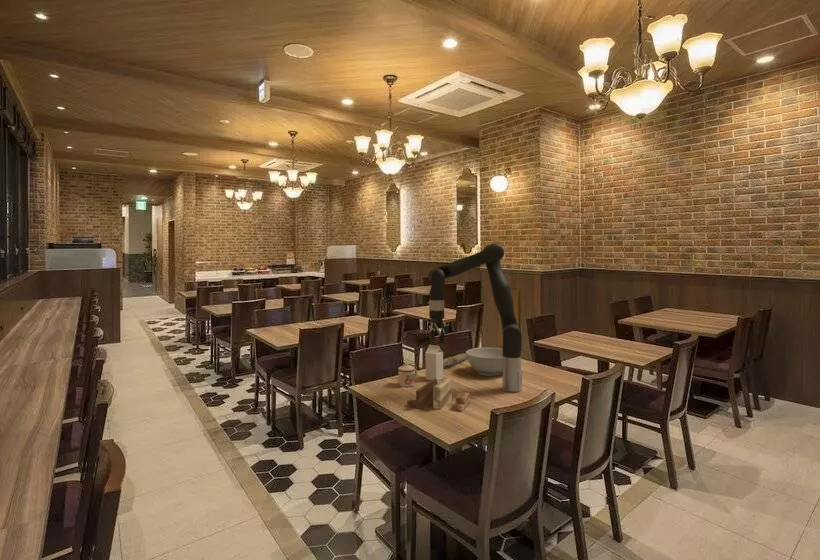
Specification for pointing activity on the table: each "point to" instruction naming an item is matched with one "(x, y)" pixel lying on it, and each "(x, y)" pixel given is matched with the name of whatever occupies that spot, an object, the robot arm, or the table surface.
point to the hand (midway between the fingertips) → (437, 341)
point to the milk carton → (434, 363)
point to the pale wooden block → (442, 393)
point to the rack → (423, 396)
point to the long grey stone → (453, 360)
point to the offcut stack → (462, 401)
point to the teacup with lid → (407, 375)
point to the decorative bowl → (486, 360)
